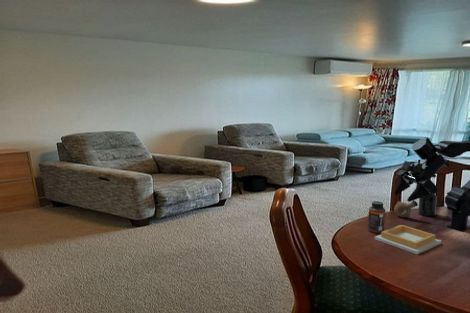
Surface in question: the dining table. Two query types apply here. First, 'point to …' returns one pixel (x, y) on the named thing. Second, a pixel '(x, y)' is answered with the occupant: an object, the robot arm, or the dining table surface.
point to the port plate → (408, 239)
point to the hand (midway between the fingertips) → (401, 197)
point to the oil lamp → (404, 208)
